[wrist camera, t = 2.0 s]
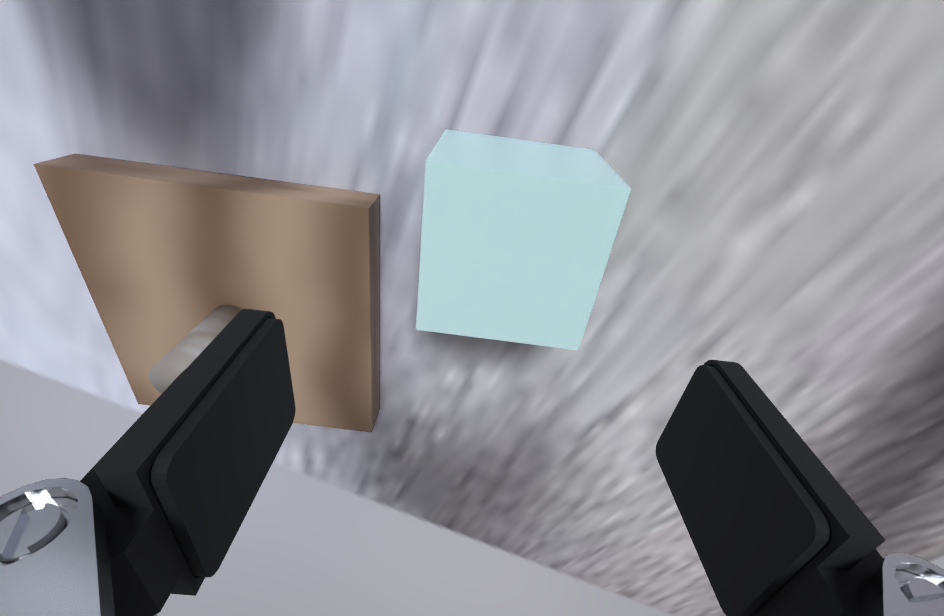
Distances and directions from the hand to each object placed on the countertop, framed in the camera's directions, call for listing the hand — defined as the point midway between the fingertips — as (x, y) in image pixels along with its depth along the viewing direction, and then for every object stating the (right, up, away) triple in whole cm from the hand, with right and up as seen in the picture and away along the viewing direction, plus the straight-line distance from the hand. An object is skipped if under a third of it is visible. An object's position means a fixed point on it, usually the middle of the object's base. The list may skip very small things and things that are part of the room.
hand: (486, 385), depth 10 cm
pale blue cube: (+1, +6, +10) cm, 12 cm away
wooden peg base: (-12, +2, +13) cm, 18 cm away
